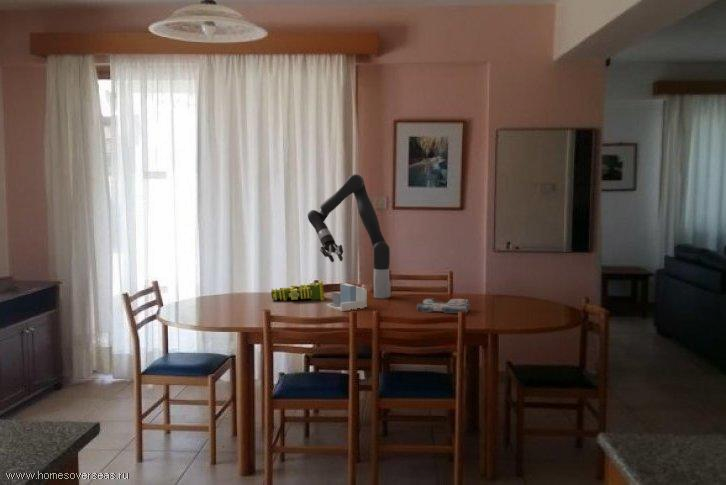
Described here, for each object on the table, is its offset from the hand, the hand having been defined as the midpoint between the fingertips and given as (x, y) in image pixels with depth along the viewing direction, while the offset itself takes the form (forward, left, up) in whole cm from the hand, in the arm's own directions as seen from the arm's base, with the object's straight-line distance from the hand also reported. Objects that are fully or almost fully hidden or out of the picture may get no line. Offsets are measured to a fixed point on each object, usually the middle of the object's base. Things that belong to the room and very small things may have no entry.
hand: (337, 260), depth 348 cm
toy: (+14, -23, -25) cm, 37 cm away
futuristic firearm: (-39, +47, -25) cm, 66 cm away
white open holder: (+1, +11, -24) cm, 27 cm away
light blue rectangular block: (0, +12, -23) cm, 26 cm away
